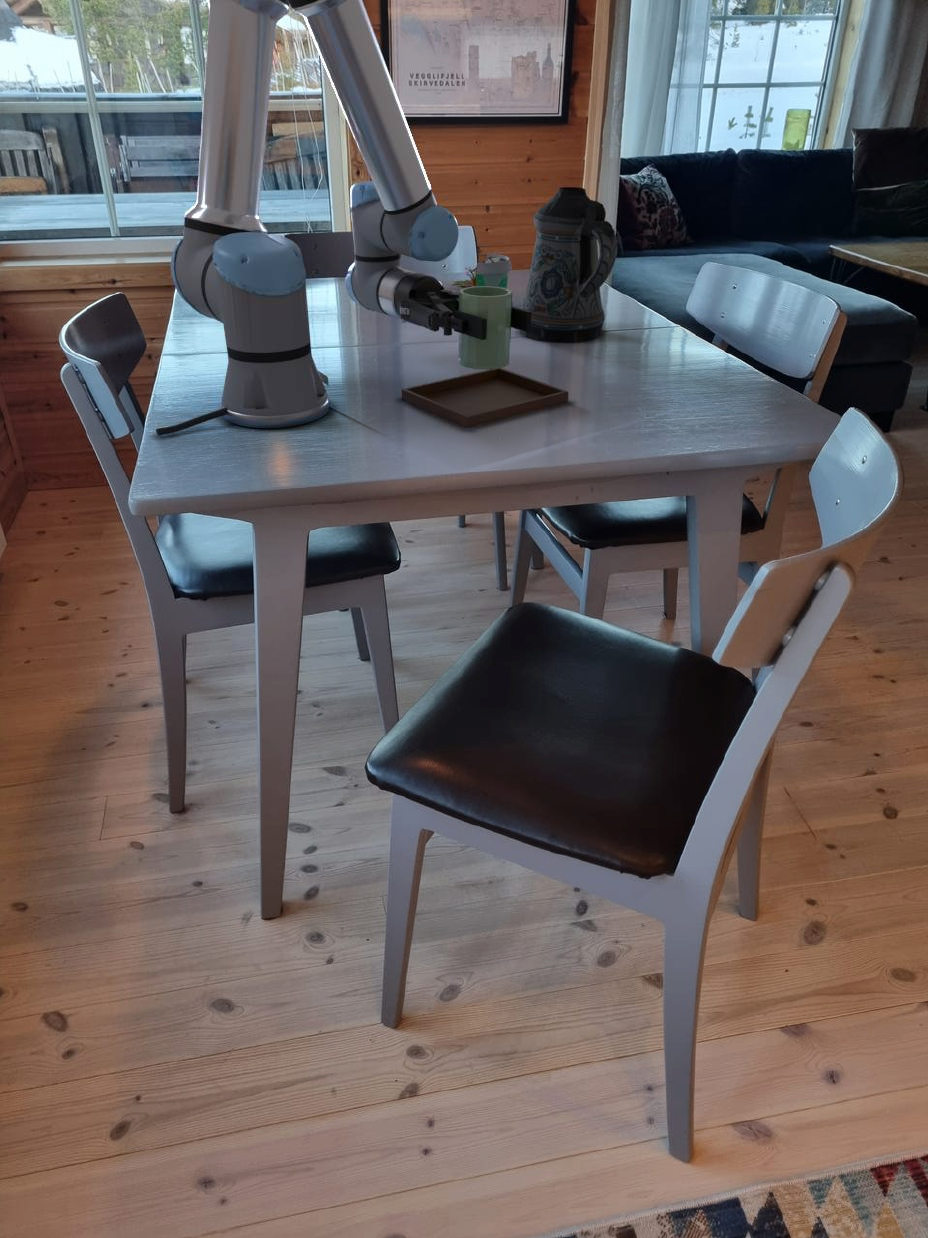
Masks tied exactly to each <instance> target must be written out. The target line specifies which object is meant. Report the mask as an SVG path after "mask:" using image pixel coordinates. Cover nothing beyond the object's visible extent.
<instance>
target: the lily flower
mask: <svg viewBox="0 0 928 1238" xmlns="http://www.w3.org/2000/svg"><path fill="white" fill-rule="evenodd" d="M474 268H475V267H474V266H473V269H474ZM464 269H465V270H468V271H466V276H468V277H469V278H470V279H465V280H456V281H452V282H453V284H451V285H450V287H453V286H458V290H461V289H464V288H468V287H477V269H475V270H474V272H473V270H472V269H471V267H470V266H468V268H467V267H464ZM474 273H475V274H474Z"/></svg>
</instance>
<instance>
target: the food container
mask: <svg viewBox="0 0 928 1238" xmlns="http://www.w3.org/2000/svg"><path fill="white" fill-rule="evenodd" d="M512 269H513V268H512V263H511V259H510V257H509V256H507V255H504V254H497V253H486V259H485V260H482V261H481V262H477V263H476V270H477V273H476V274H477V287H478V286H490V287H501V288H505V289H508V280H509V272H511V271H512Z"/></svg>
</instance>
